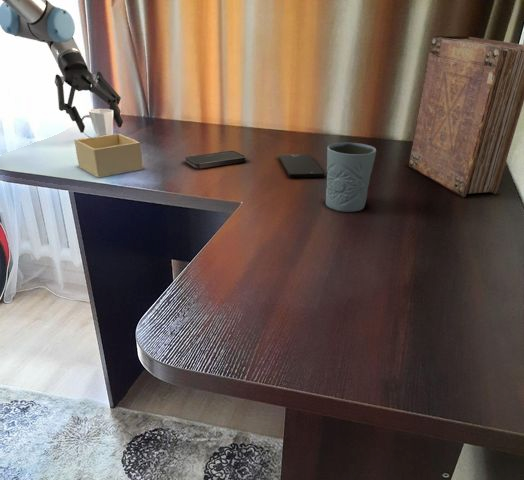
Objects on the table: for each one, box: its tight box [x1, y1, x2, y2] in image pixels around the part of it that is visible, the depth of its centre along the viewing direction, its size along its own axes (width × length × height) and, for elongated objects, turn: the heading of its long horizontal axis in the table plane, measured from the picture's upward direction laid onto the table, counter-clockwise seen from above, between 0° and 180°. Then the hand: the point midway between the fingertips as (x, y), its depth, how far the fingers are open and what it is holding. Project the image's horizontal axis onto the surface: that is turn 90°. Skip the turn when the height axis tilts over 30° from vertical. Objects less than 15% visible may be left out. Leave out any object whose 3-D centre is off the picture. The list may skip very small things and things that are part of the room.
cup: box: [81, 108, 114, 138], centre depth 149 cm, size 7×10×8 cm
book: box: [408, 35, 524, 198], centre depth 119 cm, size 25×9×30 cm, turn 16°
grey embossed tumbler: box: [325, 142, 377, 213], centre depth 108 cm, size 10×10×12 cm
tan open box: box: [73, 133, 144, 178], centre depth 127 cm, size 12×11×6 cm
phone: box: [185, 150, 247, 169], centre depth 135 cm, size 8×1×15 cm
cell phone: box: [278, 153, 325, 179], centre depth 133 cm, size 9×18×1 cm, turn 7°
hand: (102, 127), depth 147 cm, fingers open, 11 cm apart
